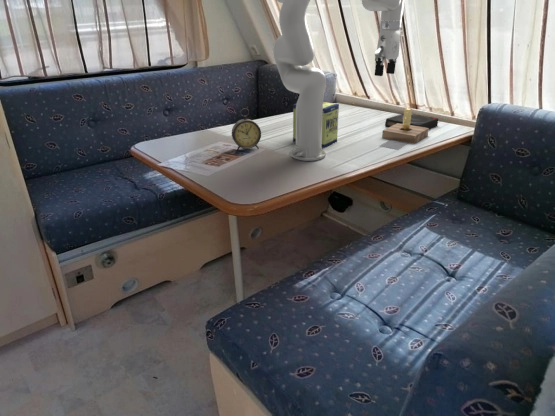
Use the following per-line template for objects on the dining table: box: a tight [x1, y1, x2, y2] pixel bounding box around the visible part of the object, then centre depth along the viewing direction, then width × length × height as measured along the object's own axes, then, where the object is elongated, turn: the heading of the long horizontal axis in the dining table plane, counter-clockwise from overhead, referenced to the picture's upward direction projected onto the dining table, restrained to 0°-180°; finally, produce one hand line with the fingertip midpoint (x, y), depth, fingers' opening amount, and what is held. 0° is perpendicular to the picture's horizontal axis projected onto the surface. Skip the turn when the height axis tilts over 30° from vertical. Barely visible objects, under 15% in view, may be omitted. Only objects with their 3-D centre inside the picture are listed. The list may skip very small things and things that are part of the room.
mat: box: [379, 139, 410, 151], centre depth 162 cm, size 10×8×1 cm
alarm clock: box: [231, 108, 262, 152], centre depth 158 cm, size 11×5×16 cm, turn 105°
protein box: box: [292, 101, 340, 149], centre depth 165 cm, size 10×16×16 cm
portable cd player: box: [384, 113, 439, 130], centre depth 186 cm, size 16×17×4 cm
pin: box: [402, 107, 413, 131], centre depth 169 cm, size 3×3×12 cm
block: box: [381, 123, 430, 145], centre depth 171 cm, size 14×14×4 cm
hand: (384, 74), depth 159 cm, fingers open, 9 cm apart
